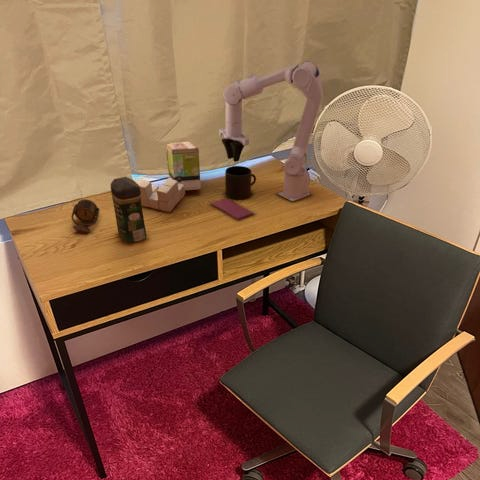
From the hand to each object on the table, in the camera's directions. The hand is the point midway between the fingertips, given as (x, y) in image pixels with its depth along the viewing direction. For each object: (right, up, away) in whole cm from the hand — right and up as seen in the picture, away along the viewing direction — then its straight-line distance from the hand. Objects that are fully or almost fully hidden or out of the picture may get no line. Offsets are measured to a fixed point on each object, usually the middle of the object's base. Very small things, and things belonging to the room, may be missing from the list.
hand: (233, 159), depth 176 cm
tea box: (-18, -9, +4) cm, 21 cm away
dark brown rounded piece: (-49, -28, -19) cm, 59 cm away
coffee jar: (-32, -33, -25) cm, 52 cm away
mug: (+3, -12, +2) cm, 13 cm away
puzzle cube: (-25, -16, -6) cm, 31 cm away
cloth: (0, -21, -9) cm, 22 cm away
